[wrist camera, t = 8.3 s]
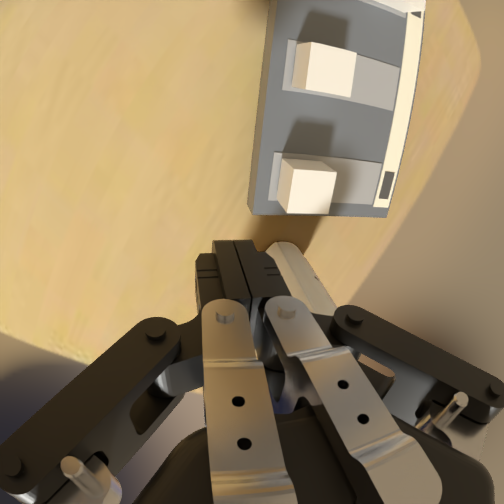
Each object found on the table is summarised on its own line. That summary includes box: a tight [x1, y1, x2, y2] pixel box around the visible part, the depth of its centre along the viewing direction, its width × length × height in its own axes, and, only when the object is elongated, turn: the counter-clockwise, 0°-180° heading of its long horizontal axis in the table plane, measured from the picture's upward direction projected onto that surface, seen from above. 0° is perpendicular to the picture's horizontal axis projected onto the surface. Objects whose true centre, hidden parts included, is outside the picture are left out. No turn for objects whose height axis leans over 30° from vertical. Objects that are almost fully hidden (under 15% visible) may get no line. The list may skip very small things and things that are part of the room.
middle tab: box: [292, 42, 357, 97], centre depth 17 cm, size 3×3×2 cm
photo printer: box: [255, 242, 337, 357], centre depth 25 cm, size 10×4×12 cm, turn 145°
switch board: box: [247, 0, 426, 218], centre depth 20 cm, size 22×12×2 cm, turn 174°
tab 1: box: [276, 158, 337, 214], centre depth 21 cm, size 3×3×2 cm
